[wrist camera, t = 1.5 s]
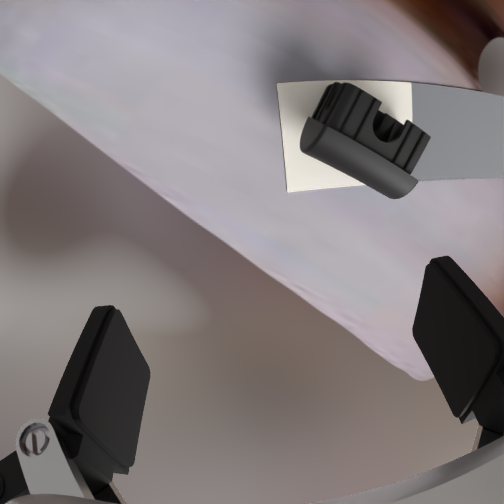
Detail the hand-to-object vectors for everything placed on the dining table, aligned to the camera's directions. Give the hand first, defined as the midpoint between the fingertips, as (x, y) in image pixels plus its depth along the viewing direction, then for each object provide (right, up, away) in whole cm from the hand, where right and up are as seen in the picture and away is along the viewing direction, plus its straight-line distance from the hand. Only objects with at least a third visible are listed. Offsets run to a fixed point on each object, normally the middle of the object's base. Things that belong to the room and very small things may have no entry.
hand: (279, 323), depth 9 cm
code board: (+9, +14, +20) cm, 26 cm away
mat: (+24, +16, +19) cm, 35 cm away
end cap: (+9, +14, +20) cm, 26 cm away
